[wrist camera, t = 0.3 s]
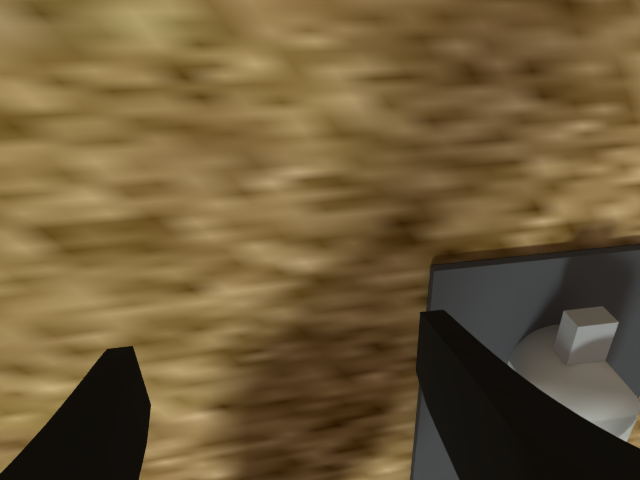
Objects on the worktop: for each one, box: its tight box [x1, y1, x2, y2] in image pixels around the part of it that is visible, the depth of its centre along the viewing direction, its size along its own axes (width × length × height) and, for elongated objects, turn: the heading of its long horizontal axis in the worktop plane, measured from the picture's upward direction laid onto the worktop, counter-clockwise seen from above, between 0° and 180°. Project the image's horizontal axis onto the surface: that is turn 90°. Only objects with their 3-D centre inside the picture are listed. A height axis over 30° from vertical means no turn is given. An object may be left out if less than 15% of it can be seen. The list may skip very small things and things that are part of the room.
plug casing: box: [508, 306, 640, 442], centre depth 26 cm, size 12×4×4 cm, turn 2°
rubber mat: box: [410, 244, 640, 480], centre depth 29 cm, size 18×14×1 cm
